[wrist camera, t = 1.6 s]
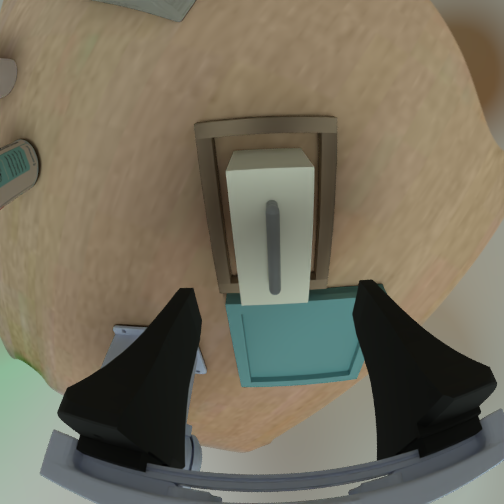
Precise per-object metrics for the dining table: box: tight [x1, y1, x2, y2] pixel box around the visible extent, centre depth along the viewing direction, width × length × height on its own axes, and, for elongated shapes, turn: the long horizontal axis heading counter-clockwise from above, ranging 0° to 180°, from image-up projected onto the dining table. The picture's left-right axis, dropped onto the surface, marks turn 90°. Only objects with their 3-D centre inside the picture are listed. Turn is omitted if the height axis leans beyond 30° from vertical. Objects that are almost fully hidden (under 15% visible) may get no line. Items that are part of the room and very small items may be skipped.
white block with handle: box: [226, 148, 314, 306], centre depth 17 cm, size 4×9×6 cm, turn 4°
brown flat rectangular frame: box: [194, 116, 337, 293], centre depth 19 cm, size 9×13×1 cm, turn 4°
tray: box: [225, 284, 387, 387], centre depth 27 cm, size 14×14×2 cm
